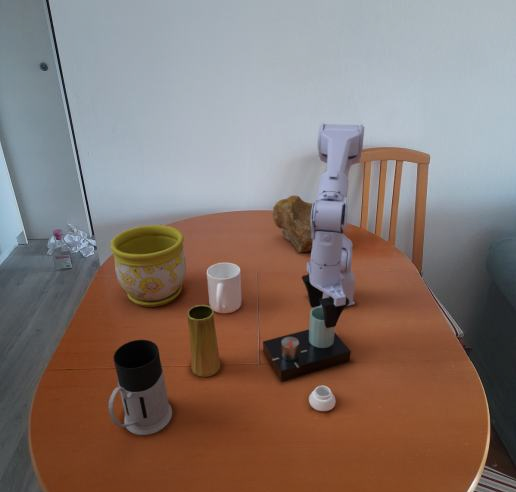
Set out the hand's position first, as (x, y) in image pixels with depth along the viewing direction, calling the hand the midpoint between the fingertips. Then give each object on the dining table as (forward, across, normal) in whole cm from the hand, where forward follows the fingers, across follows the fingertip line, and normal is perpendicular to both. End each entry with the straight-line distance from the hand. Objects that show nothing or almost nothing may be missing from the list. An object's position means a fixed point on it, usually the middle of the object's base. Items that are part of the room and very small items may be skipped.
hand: (322, 315), depth 94 cm
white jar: (+10, -14, +6) cm, 18 cm away
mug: (+10, +22, +17) cm, 29 cm away
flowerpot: (+10, +35, +32) cm, 49 cm away
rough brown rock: (+10, +49, -18) cm, 53 cm away
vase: (+10, +3, +25) cm, 27 cm away
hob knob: (+6, -3, +8) cm, 11 cm away
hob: (+9, -1, +4) cm, 10 cm away
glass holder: (+10, -10, +39) cm, 42 cm away
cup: (+6, 0, 0) cm, 6 cm away
